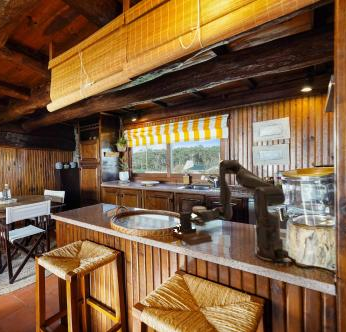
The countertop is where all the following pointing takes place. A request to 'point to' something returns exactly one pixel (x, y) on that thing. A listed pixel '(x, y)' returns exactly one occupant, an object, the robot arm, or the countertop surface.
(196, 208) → the disposable coffee cup
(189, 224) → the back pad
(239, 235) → the countertop surface
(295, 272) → the countertop surface
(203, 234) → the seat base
